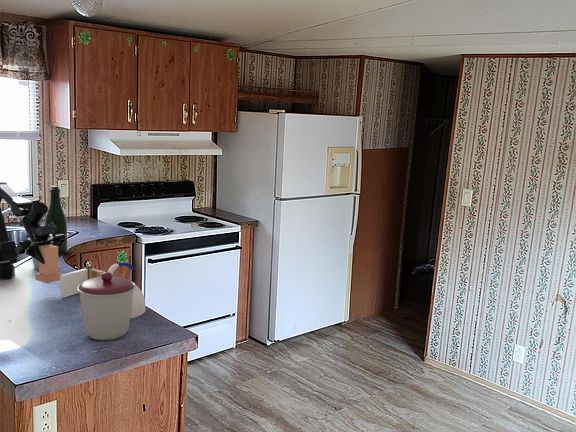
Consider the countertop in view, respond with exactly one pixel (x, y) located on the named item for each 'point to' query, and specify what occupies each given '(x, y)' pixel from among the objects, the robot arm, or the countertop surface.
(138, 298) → the kettle
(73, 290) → the door
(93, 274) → the door frame
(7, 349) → the countertop surface
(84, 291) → the canister
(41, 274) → the tan square pedestal
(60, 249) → the beer bottle
